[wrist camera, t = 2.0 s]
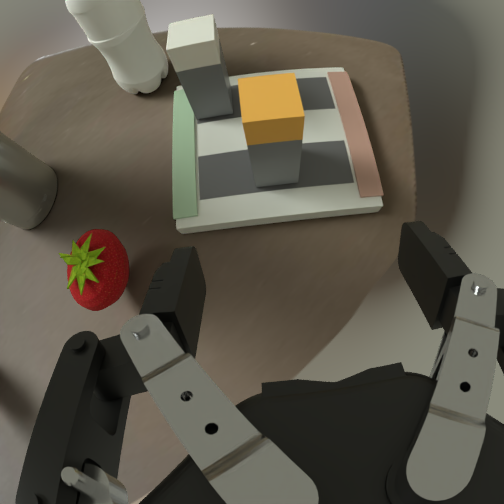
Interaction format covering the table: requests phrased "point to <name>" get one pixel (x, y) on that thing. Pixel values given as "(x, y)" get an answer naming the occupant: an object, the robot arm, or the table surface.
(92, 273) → the strawberry
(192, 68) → the grey base plate
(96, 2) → the water bottle
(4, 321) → the table surface
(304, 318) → the table surface
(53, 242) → the table surface
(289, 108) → the orange-topped grey pillar
